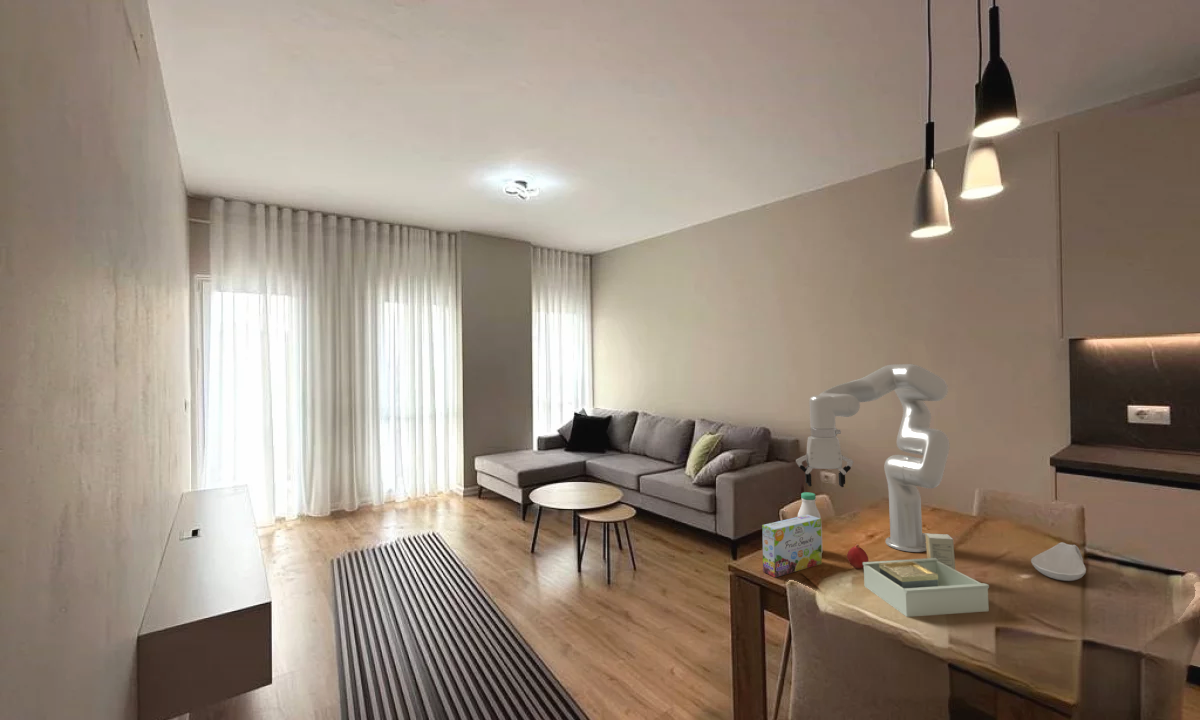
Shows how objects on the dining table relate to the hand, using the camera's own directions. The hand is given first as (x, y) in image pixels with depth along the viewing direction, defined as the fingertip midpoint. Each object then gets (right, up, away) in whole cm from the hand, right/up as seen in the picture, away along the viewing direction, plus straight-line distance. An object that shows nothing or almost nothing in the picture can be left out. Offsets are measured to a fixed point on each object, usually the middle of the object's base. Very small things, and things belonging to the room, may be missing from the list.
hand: (825, 485), depth 156 cm
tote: (+14, -24, -26) cm, 38 cm away
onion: (+7, -25, -6) cm, 27 cm away
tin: (+10, -24, -27) cm, 37 cm away
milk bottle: (-1, -26, +10) cm, 27 cm away
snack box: (-12, -26, -3) cm, 28 cm away
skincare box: (+29, -24, -12) cm, 40 cm away
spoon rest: (+67, -23, -11) cm, 72 cm away
